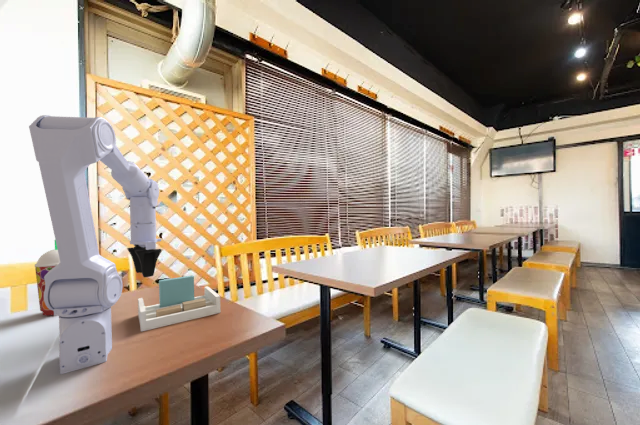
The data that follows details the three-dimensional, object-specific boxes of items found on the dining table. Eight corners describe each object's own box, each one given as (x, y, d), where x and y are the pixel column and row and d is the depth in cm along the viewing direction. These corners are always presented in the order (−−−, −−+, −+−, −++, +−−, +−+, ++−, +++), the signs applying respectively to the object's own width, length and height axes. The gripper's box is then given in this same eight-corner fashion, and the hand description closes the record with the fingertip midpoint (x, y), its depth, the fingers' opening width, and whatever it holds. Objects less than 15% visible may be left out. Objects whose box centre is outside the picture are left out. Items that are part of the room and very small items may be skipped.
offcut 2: (205, 313, 68) (205, 300, 68) (184, 318, 65) (183, 304, 65) (203, 311, 70) (203, 298, 70) (182, 316, 67) (182, 302, 67)
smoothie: (72, 304, 80) (70, 237, 79) (83, 309, 75) (81, 238, 75) (31, 314, 72) (29, 240, 72) (41, 320, 68) (39, 241, 68)
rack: (220, 315, 69) (220, 296, 69) (141, 335, 59) (140, 312, 59) (208, 303, 78) (208, 286, 78) (138, 318, 68) (137, 298, 68)
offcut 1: (181, 319, 65) (181, 307, 65) (157, 325, 62) (157, 312, 62) (179, 317, 66) (179, 304, 66) (156, 322, 63) (156, 309, 63)
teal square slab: (194, 307, 73) (193, 276, 73) (160, 315, 68) (159, 281, 68) (193, 306, 74) (192, 275, 74) (159, 313, 69) (158, 280, 69)
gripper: (168, 223, 70) (169, 275, 70) (153, 222, 80) (154, 268, 80) (136, 224, 64) (137, 281, 65) (124, 223, 75) (125, 272, 75)
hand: (144, 274), depth 72 cm, fingers open, 7 cm apart
